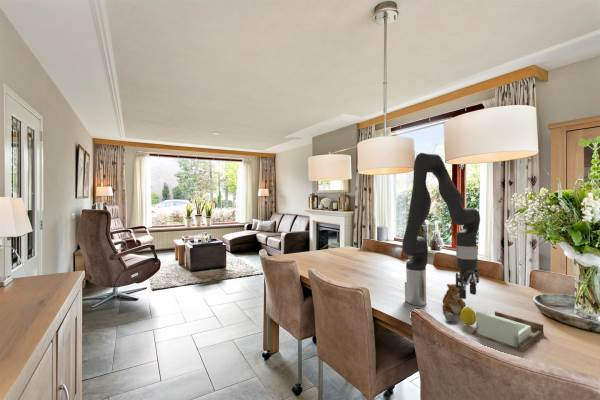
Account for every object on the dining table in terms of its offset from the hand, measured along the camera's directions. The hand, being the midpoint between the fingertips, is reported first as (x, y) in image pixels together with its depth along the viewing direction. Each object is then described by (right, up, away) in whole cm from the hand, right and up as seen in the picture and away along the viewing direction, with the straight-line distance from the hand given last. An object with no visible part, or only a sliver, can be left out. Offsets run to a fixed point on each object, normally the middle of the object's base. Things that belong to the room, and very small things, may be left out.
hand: (468, 296), depth 114 cm
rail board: (+11, -12, -7) cm, 18 cm away
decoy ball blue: (+10, -12, +5) cm, 17 cm away
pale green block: (+8, -11, -9) cm, 17 cm away
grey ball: (-5, -13, +5) cm, 14 cm away
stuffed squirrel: (+2, -13, +16) cm, 20 cm away
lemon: (0, -13, 0) cm, 13 cm away
